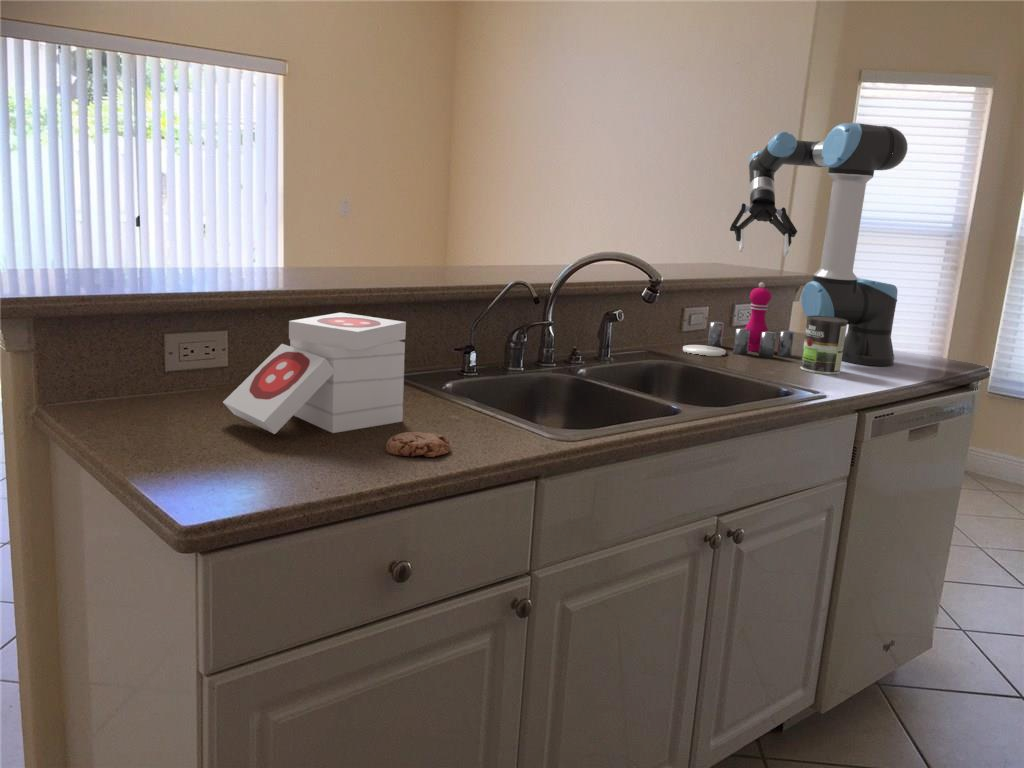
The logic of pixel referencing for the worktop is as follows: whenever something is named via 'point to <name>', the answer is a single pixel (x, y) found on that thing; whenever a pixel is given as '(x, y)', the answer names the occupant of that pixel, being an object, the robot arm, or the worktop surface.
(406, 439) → the cookie
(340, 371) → the pizza boxes
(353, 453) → the worktop surface
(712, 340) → the posts
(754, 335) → the pepper mill
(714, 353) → the disc
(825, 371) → the coffee can
